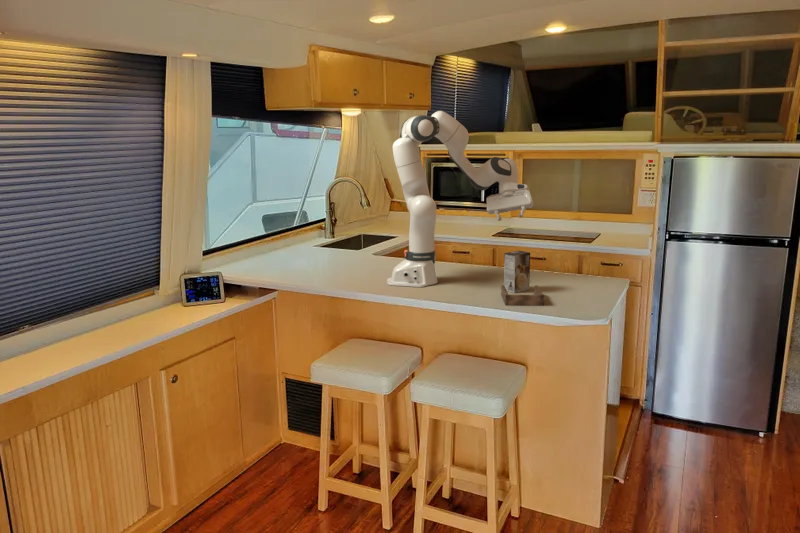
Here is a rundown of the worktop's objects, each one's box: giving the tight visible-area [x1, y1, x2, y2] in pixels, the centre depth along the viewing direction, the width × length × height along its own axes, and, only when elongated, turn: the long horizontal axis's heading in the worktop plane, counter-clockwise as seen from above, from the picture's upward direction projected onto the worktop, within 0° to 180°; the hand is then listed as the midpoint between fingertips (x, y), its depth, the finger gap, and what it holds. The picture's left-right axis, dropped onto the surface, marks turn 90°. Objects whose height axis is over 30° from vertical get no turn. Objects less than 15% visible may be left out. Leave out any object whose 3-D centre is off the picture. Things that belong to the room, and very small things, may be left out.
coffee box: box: [503, 250, 531, 294], centre depth 243 cm, size 9×6×16 cm
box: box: [500, 284, 545, 307], centre depth 230 cm, size 14×15×4 cm
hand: (510, 218), depth 254 cm, fingers open, 8 cm apart
